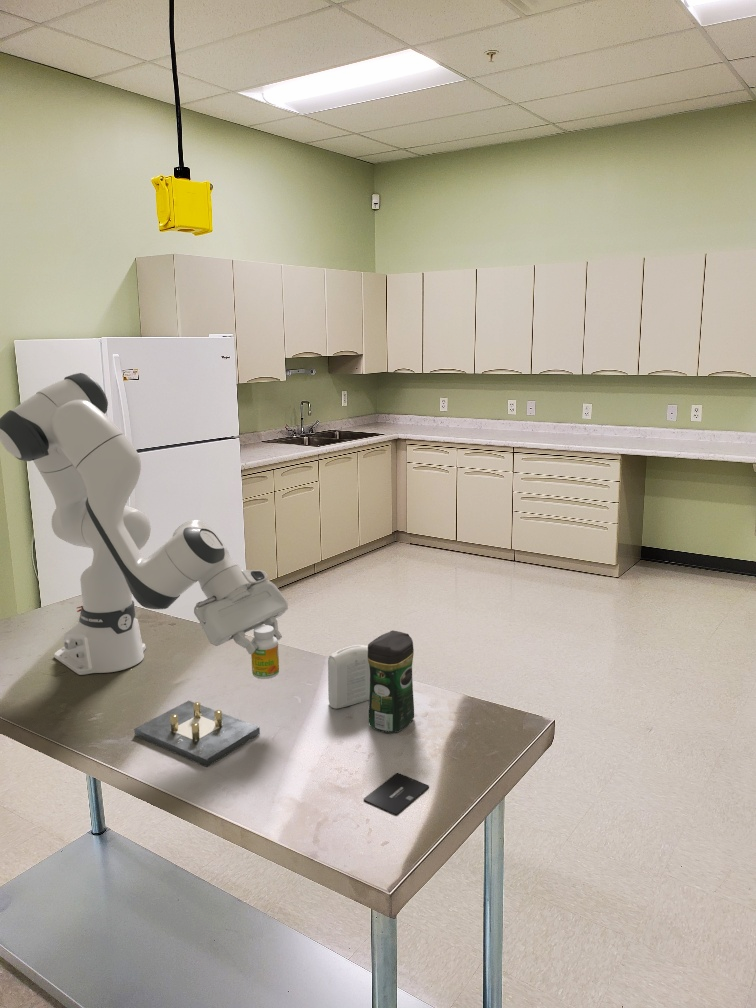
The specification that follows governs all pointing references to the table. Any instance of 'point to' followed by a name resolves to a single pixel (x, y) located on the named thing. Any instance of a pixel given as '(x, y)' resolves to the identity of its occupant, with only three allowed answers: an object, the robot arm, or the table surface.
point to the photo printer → (348, 676)
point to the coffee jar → (391, 682)
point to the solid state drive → (396, 793)
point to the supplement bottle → (265, 653)
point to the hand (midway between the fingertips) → (266, 645)
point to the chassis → (197, 732)
